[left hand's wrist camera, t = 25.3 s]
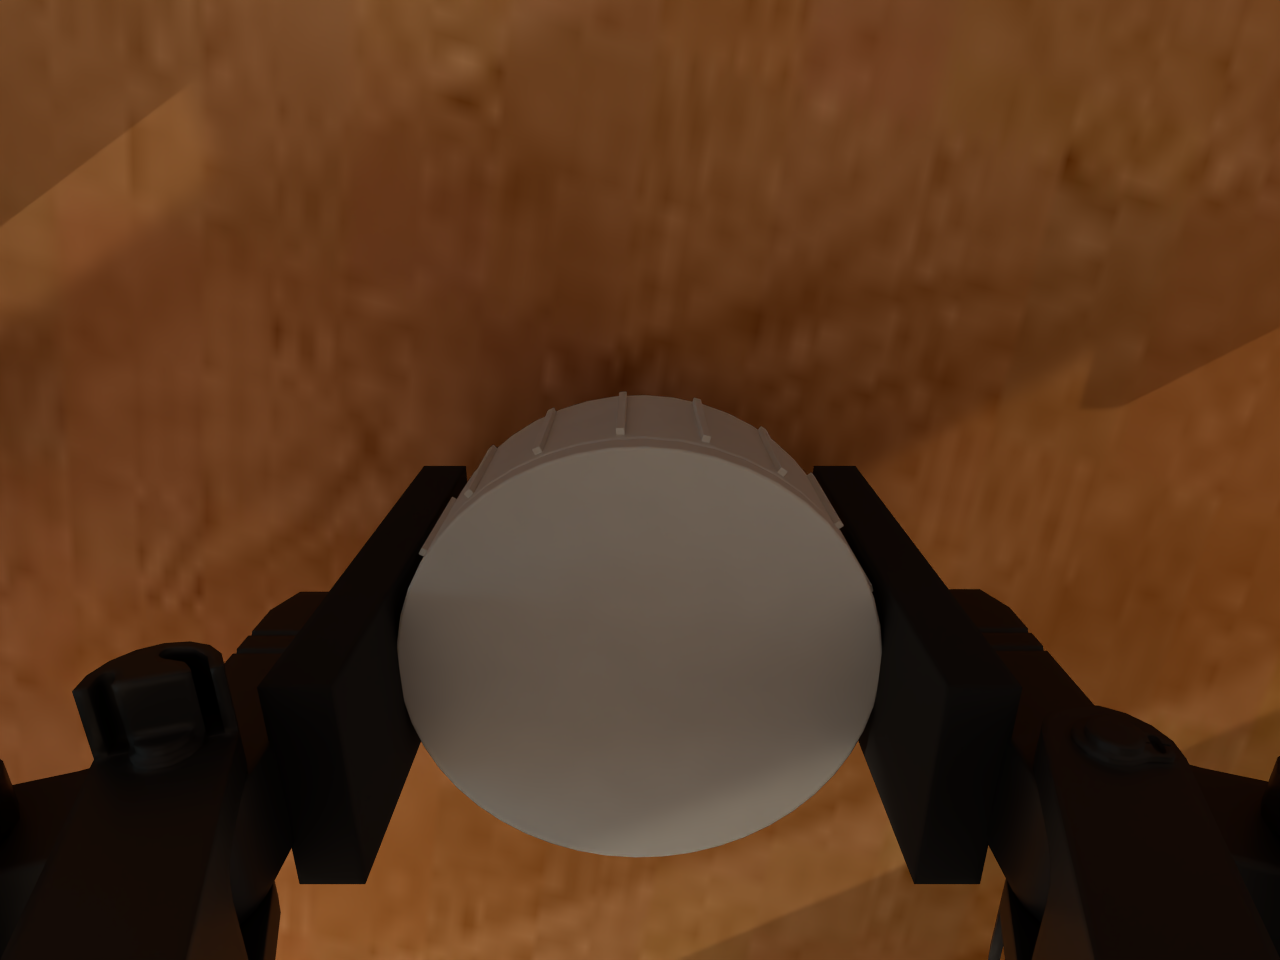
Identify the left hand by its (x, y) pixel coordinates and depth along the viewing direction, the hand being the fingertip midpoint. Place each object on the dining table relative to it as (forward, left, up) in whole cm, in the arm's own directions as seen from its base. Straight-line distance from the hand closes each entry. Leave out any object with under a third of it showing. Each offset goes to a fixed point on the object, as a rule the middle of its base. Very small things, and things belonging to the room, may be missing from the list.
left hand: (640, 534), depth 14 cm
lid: (0, 0, +4) cm, 4 cm away
